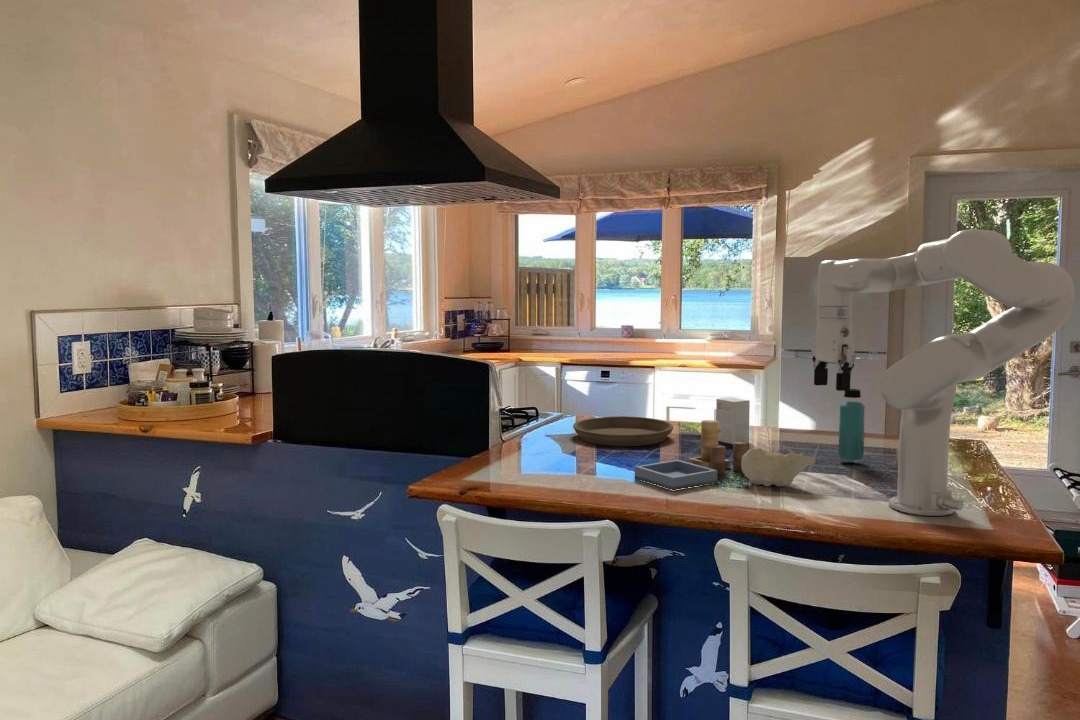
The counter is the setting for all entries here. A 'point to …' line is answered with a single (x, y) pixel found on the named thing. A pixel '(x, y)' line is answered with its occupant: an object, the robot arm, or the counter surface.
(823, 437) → the counter surface
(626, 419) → the plant saucer
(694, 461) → the dowel socket
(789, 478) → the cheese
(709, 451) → the dowel
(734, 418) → the small box
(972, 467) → the counter surface
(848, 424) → the beverage bottle
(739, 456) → the peg
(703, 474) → the tray
